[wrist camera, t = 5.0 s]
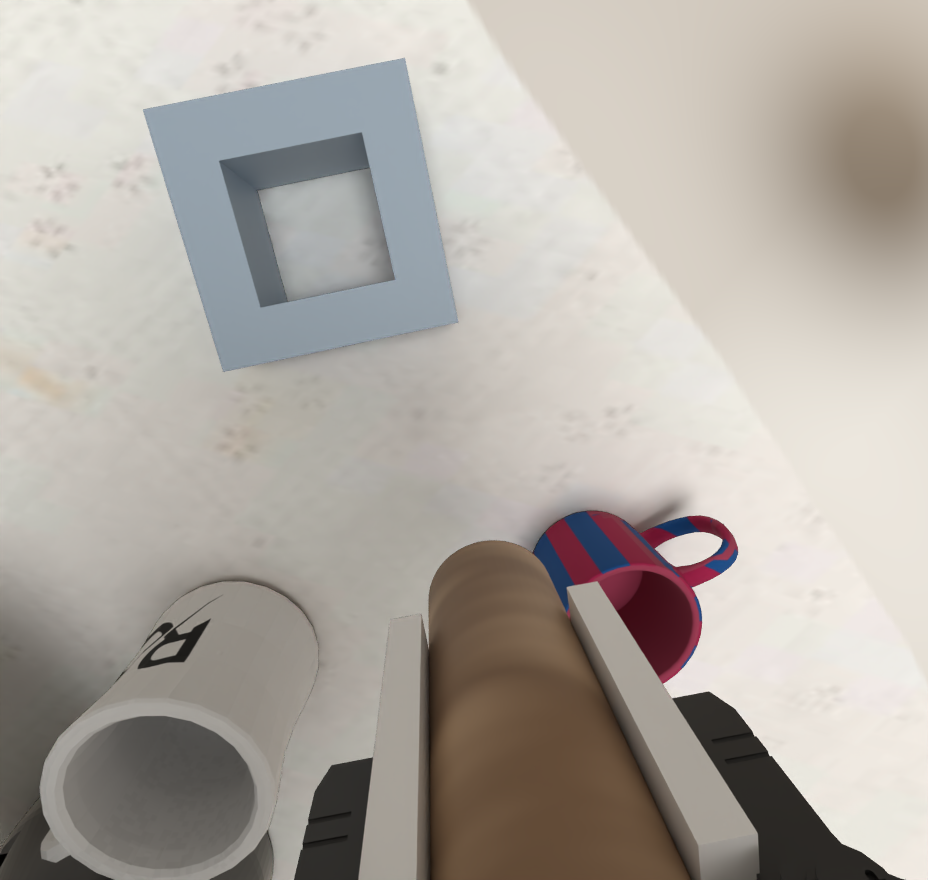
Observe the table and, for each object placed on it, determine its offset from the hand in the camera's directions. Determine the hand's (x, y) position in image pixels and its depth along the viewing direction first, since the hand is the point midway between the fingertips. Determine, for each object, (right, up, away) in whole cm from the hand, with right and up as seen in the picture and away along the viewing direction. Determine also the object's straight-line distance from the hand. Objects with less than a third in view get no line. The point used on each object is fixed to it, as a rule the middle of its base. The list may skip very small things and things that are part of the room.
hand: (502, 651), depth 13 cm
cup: (+8, -1, +18) cm, 20 cm away
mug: (-15, -8, +18) cm, 25 cm away
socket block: (-7, +15, +13) cm, 21 cm away
